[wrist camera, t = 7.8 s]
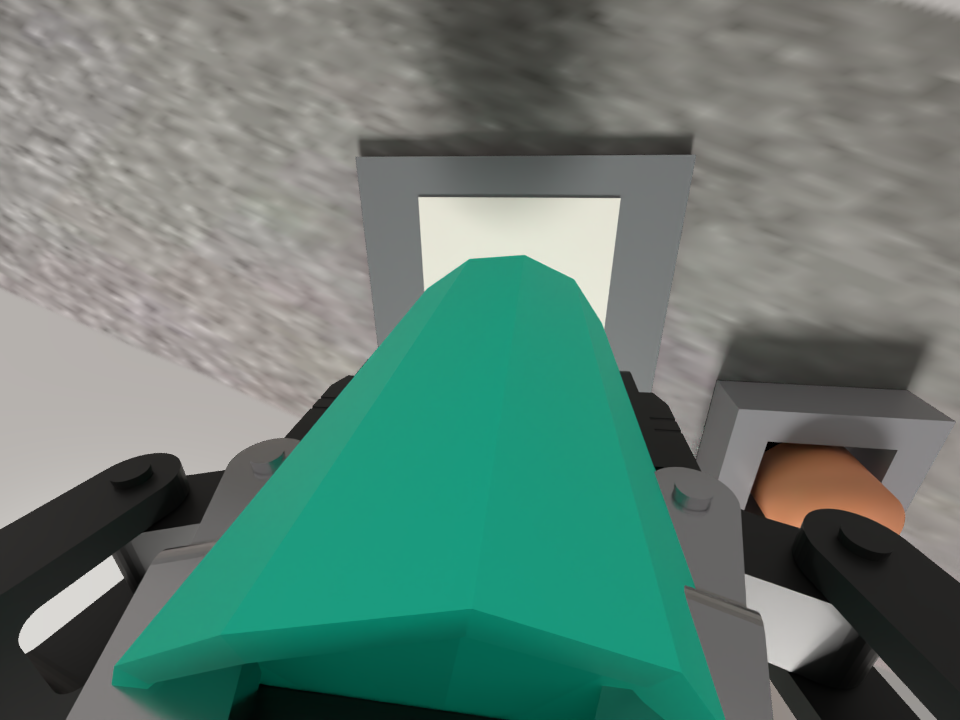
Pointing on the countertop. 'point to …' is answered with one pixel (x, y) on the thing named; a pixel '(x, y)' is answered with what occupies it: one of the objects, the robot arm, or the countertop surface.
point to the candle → (457, 528)
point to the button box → (821, 432)
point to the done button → (821, 486)
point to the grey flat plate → (533, 232)
